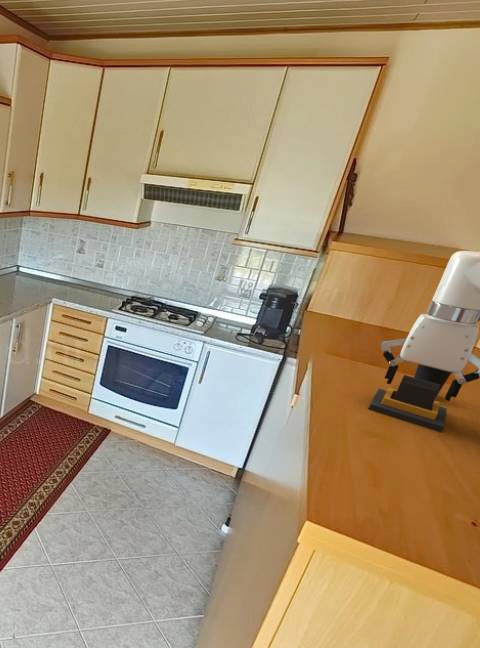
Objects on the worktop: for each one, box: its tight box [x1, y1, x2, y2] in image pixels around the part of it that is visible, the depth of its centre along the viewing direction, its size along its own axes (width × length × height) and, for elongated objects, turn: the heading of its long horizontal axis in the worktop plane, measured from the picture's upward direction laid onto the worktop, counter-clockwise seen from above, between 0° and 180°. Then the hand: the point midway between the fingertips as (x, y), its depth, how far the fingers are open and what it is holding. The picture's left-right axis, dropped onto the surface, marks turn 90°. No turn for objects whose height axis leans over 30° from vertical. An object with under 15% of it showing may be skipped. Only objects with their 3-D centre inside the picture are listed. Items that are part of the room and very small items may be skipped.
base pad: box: [368, 387, 448, 433], centre depth 106 cm, size 14×12×3 cm
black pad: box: [394, 374, 440, 410], centre depth 105 cm, size 6×6×6 cm
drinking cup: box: [413, 364, 453, 396], centre depth 113 cm, size 8×8×20 cm
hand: (417, 390), depth 104 cm, fingers open, 9 cm apart
